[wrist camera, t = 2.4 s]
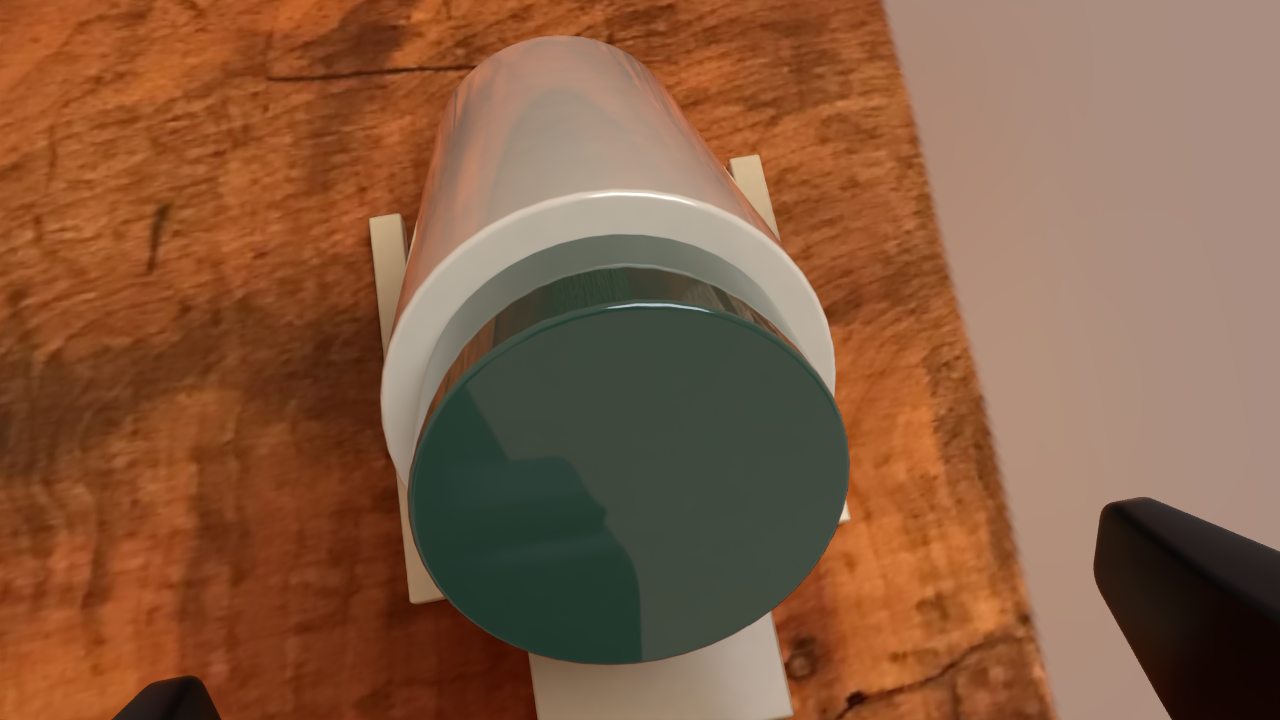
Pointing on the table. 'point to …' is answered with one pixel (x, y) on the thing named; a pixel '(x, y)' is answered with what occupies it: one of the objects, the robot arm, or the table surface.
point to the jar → (605, 371)
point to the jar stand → (631, 693)
